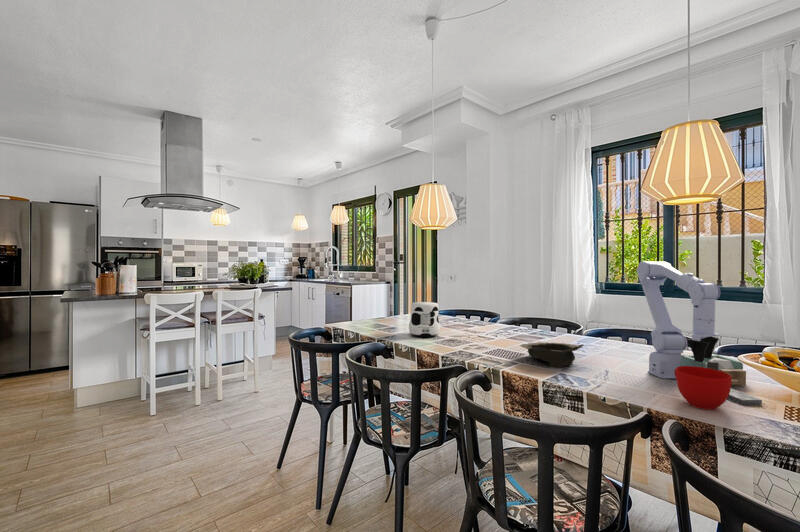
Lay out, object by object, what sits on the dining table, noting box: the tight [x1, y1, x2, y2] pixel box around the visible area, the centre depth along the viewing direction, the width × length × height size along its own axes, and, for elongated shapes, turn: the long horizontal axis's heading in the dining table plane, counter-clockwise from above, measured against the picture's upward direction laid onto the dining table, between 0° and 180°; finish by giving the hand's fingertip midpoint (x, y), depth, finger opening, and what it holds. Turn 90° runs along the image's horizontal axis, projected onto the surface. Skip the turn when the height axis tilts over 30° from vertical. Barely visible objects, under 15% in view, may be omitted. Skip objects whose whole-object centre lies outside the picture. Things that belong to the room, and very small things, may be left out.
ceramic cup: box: [675, 366, 732, 411], centre depth 115 cm, size 13×17×10 cm
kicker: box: [707, 361, 747, 387], centre depth 129 cm, size 16×7×9 cm, turn 91°
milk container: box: [408, 301, 441, 338], centre depth 213 cm, size 17×17×18 cm
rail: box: [726, 387, 763, 406], centre depth 123 cm, size 6×18×2 cm, turn 1°
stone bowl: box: [519, 342, 584, 368], centre depth 161 cm, size 25×25×9 cm
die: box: [705, 357, 734, 371], centre depth 137 cm, size 8×9×10 cm
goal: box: [681, 354, 744, 370], centre depth 140 cm, size 15×10×7 cm, turn 91°
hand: (702, 359), depth 127 cm, fingers open, 7 cm apart
